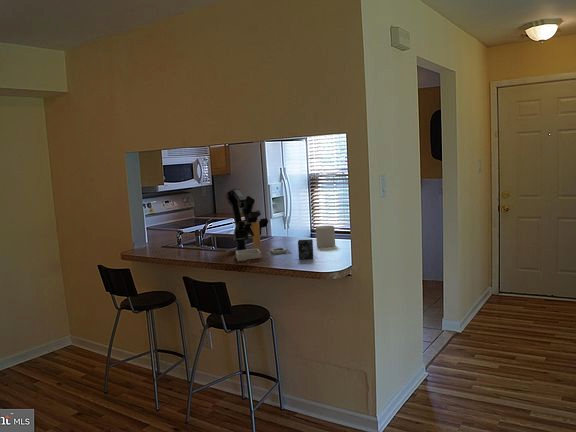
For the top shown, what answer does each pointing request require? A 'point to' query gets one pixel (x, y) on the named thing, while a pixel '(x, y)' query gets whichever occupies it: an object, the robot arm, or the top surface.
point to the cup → (325, 236)
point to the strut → (256, 234)
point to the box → (305, 249)
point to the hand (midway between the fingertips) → (257, 235)
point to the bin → (247, 254)
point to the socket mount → (278, 251)
